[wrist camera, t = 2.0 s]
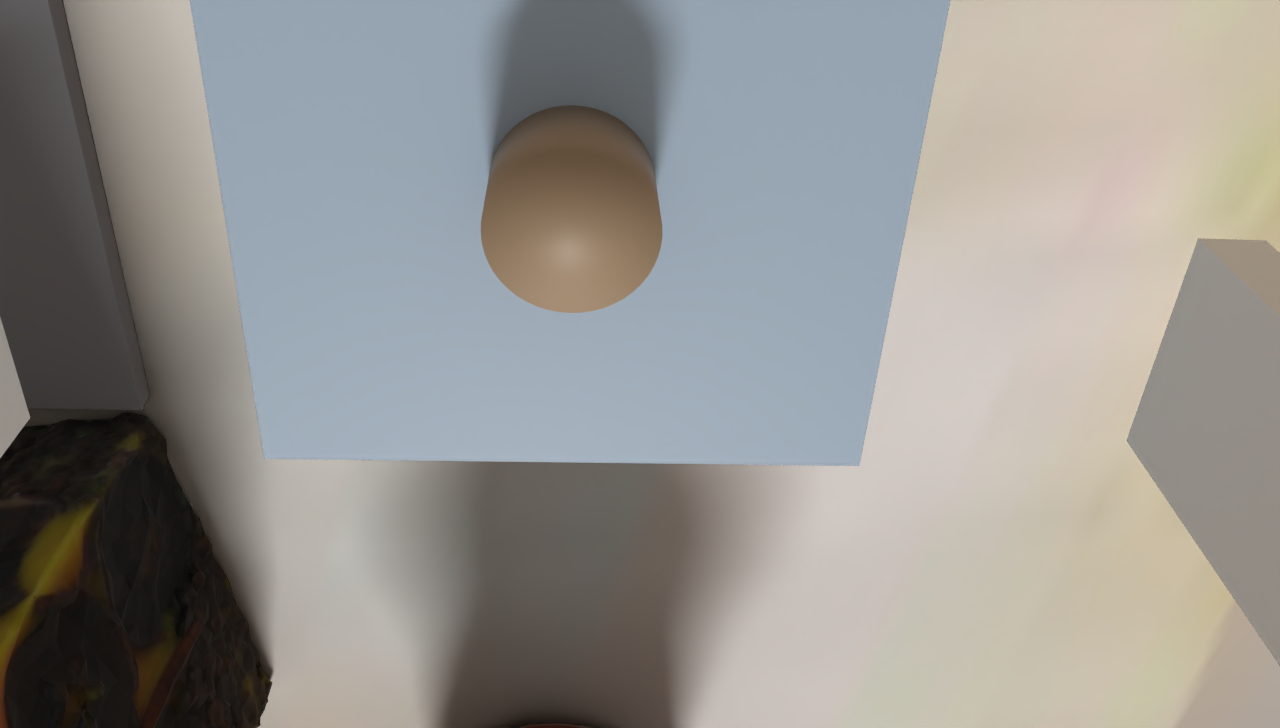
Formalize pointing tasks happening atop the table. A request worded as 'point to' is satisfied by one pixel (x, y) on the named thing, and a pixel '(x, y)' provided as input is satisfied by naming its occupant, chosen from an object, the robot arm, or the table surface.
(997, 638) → the table surface
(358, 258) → the lid
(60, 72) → the mat
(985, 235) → the table surface
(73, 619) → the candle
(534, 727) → the mug
